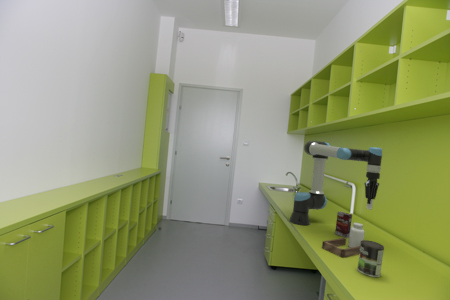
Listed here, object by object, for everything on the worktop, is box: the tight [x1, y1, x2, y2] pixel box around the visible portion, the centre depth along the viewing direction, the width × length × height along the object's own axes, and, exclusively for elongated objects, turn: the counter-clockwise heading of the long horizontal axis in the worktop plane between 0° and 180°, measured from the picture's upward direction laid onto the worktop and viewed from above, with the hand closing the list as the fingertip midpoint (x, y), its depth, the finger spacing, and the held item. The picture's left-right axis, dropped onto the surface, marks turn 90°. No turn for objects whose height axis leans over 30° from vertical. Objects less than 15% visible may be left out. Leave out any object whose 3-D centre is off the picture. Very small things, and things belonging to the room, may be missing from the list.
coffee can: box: [357, 239, 385, 278], centre depth 133 cm, size 10×10×14 cm
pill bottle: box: [347, 222, 366, 248], centre depth 166 cm, size 8×8×15 cm
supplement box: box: [334, 211, 353, 239], centre depth 188 cm, size 9×5×16 cm, turn 40°
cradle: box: [321, 237, 360, 259], centre depth 159 cm, size 14×20×4 cm
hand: (369, 209), depth 170 cm, fingers closed
